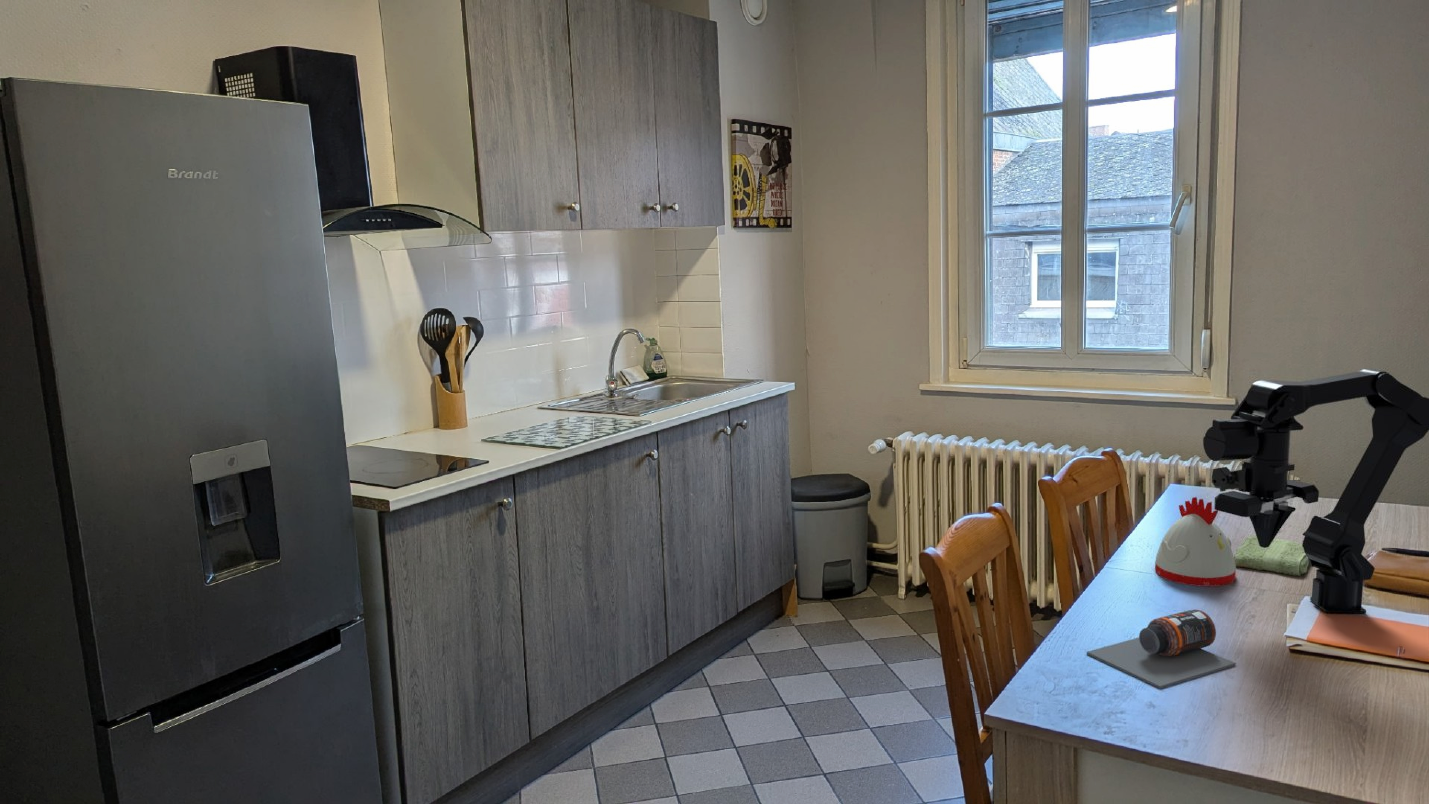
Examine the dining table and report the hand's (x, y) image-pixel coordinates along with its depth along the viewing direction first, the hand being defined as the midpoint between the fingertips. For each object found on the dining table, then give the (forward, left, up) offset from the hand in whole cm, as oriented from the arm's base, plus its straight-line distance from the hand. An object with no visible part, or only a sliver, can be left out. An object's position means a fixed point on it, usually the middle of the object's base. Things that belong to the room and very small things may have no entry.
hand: (1264, 547), depth 169 cm
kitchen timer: (+4, -21, -12) cm, 25 cm away
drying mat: (+22, +20, -12) cm, 32 cm away
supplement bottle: (+14, +15, -9) cm, 22 cm away
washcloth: (-14, -30, -13) cm, 35 cm away
